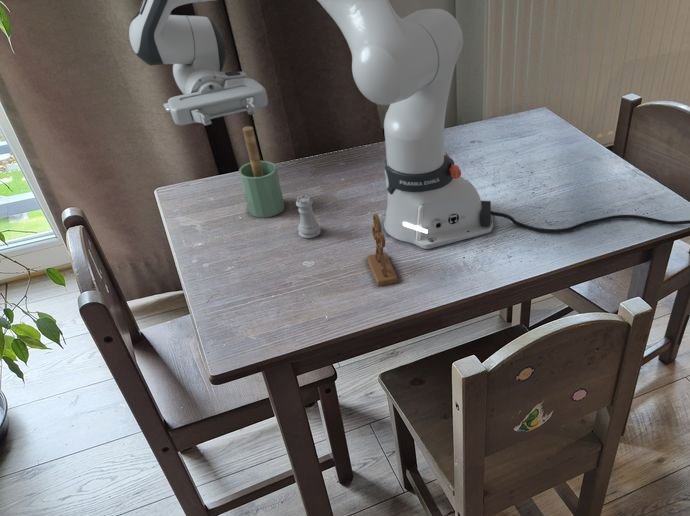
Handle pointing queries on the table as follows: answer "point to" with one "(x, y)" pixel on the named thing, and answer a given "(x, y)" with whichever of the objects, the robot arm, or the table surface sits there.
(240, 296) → the table surface
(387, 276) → the wooden figure on stand
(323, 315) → the table surface
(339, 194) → the table surface
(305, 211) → the rook chess piece
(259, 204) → the green pen holder
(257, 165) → the bottle brush
